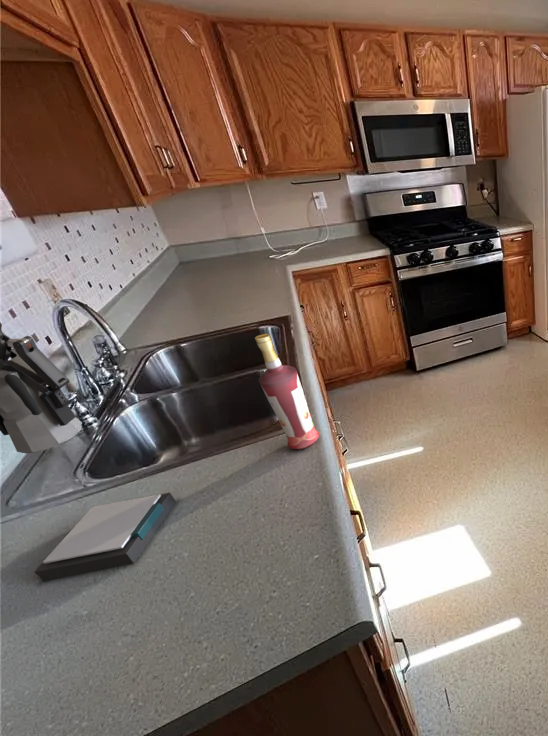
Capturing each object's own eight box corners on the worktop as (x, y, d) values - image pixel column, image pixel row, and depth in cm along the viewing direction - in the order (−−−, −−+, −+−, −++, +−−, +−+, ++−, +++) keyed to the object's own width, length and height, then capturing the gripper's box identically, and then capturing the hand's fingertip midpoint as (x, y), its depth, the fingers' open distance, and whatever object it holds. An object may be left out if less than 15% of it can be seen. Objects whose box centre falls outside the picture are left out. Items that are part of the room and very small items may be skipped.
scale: (43, 581, 70) (30, 569, 68) (99, 515, 82) (90, 503, 80) (135, 563, 72) (125, 550, 70) (177, 501, 84) (169, 489, 82)
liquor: (323, 445, 96) (282, 337, 83) (289, 458, 93) (241, 348, 80) (319, 429, 102) (281, 325, 88) (287, 440, 99) (242, 335, 86)
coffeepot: (7, 443, 79) (-62, 361, 70) (71, 415, 86) (15, 337, 77) (32, 468, 71) (-42, 379, 63) (100, 435, 78) (42, 352, 70)
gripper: (47, 296, 71) (117, 404, 82) (-99, 314, 68) (-7, 424, 79) (10, 312, 64) (90, 427, 75) (-154, 333, 61) (-46, 450, 72)
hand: (40, 425), depth 77 cm, fingers closed on coffeepot, 8 cm apart
